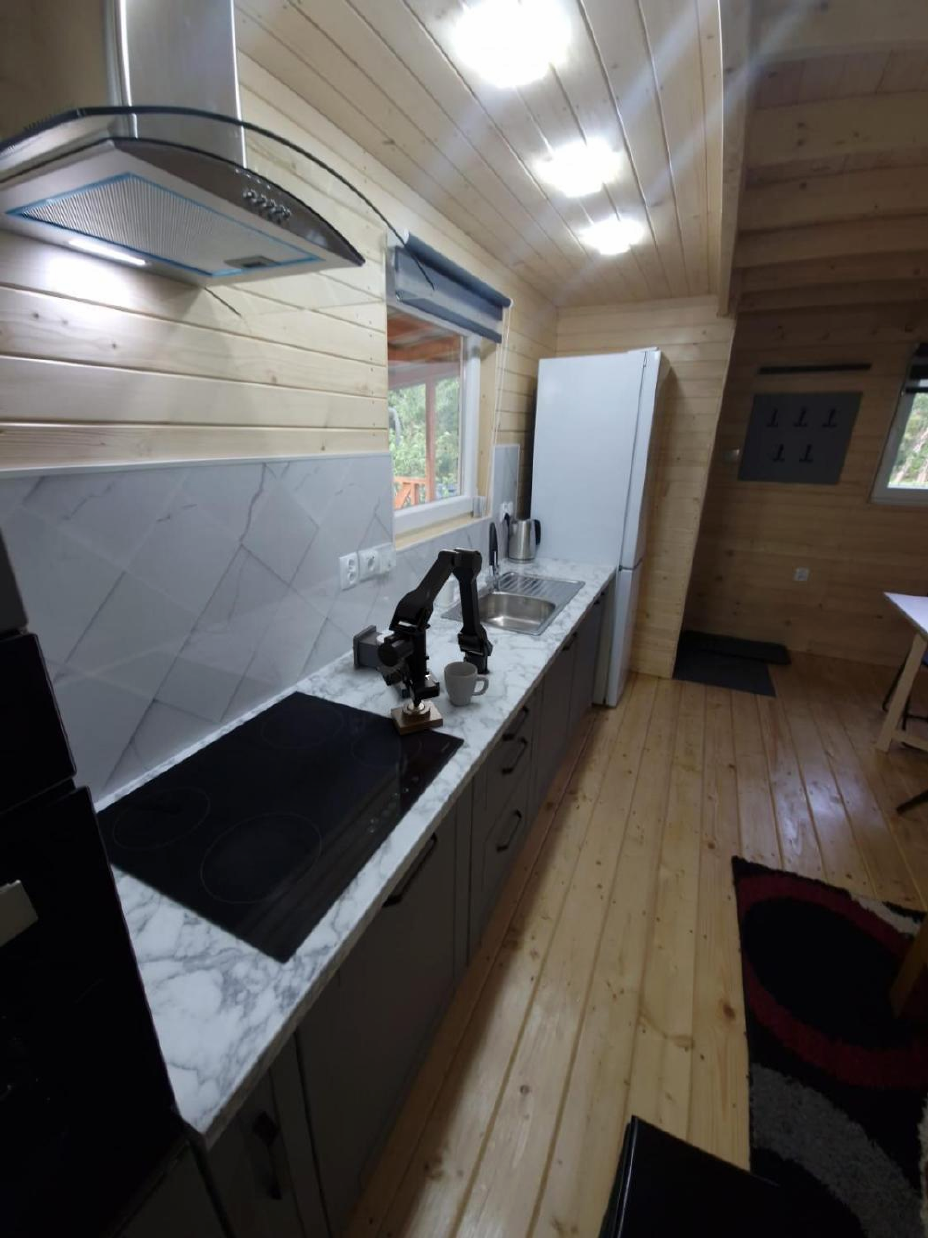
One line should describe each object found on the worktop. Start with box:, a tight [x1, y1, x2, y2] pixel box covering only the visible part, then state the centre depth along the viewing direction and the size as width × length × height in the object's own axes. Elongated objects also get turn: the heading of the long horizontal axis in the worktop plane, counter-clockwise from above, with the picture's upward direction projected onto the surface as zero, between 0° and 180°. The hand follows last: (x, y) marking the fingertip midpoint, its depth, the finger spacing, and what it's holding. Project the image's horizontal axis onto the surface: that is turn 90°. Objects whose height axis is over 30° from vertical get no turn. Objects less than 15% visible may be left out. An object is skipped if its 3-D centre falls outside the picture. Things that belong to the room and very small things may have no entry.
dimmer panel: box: [393, 667, 441, 700], centre depth 140 cm, size 11×9×3 cm
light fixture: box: [352, 624, 392, 670], centre depth 151 cm, size 11×13×11 cm
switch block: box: [390, 700, 444, 736], centre depth 125 cm, size 11×9×4 cm
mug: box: [443, 661, 490, 706], centre depth 133 cm, size 12×9×10 cm
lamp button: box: [408, 703, 424, 712], centre depth 124 cm, size 4×4×2 cm
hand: (416, 706), depth 124 cm, fingers closed, pressing on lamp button
